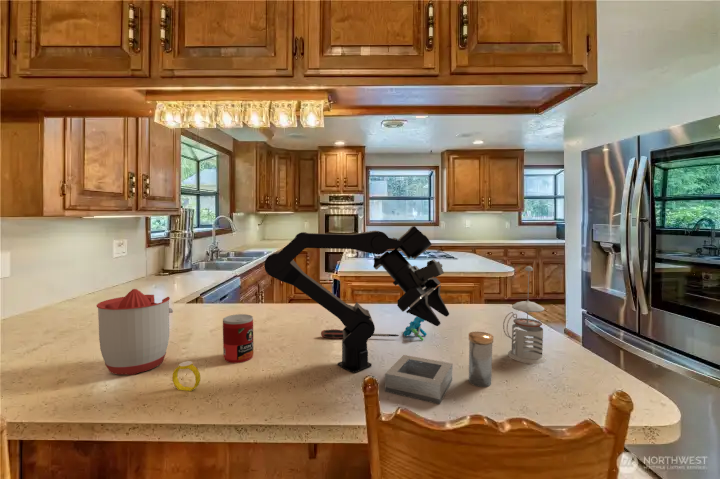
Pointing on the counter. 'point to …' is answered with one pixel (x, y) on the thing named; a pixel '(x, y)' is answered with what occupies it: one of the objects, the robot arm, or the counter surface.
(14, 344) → the counter surface
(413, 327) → the teal bumpy piece
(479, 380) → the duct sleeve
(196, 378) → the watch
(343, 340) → the robot arm
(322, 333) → the screwdriver
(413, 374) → the collar
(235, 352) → the canned food
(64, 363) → the counter surface
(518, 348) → the french press
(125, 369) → the citrus juicer
